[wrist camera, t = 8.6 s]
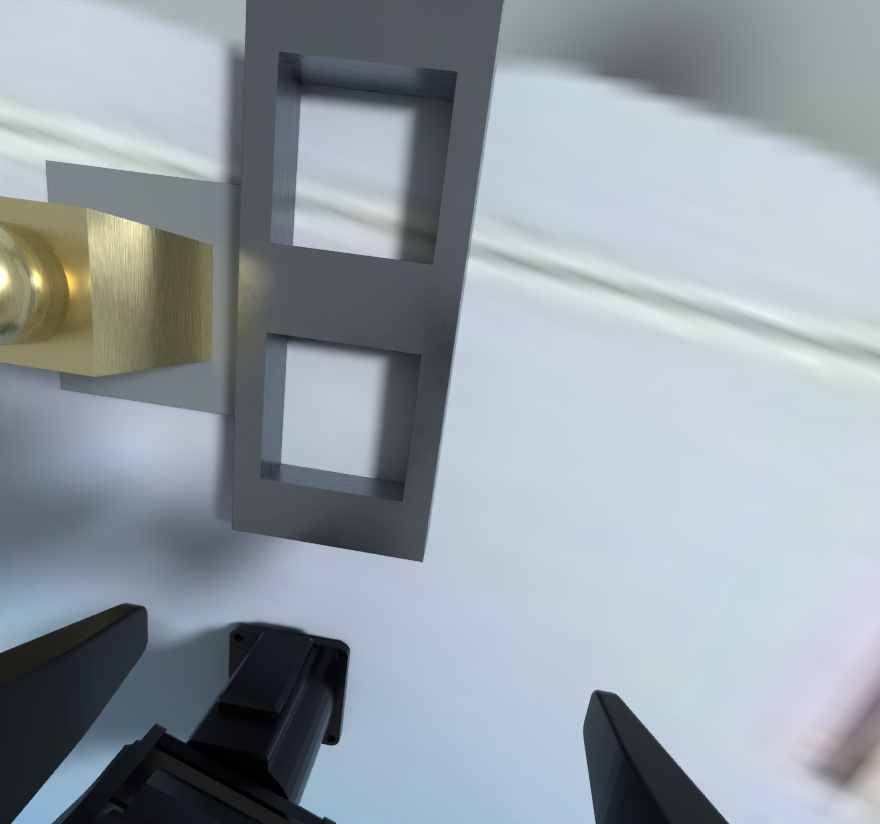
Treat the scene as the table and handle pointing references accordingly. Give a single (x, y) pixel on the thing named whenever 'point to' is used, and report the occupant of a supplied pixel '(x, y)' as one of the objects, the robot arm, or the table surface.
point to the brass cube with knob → (100, 291)
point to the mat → (183, 213)
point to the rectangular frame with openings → (351, 255)
